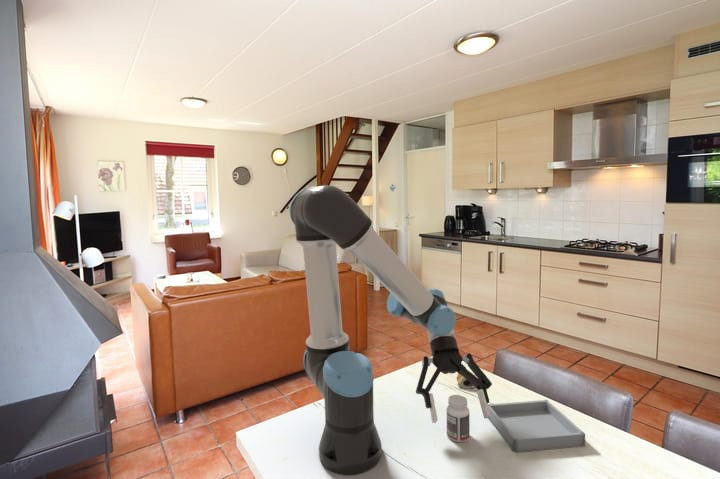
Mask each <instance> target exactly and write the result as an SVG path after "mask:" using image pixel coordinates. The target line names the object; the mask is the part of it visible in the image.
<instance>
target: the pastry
mask: <svg viewBox="0 0 720 479" xmlns="http://www.w3.org/2000/svg"><path fill="white" fill-rule="evenodd" d="M471 373H472V374H473V375H474V376H475V377H476V375H475V374H474V373H473V372H471ZM476 378H477V377H476ZM456 381H457V386H458V387H459V388H460V389H477V388H476V387H475V386H474V385H472V384H471V383H470V382H469V381H468V380H467V379H465V378H464V377H463V376H462V375H460V374H459V373H457V376H456Z"/></svg>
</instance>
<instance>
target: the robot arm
mask: <svg viewBox="0 0 720 479" xmlns="http://www.w3.org/2000/svg"><path fill="white" fill-rule="evenodd" d="M289 217H290V220H291V222H292V223H293V225H294V226H295V227H294V228H295V237H296V242H297V243H298V244H299V245H300V246H301V247H302V250H303V251H302V252H303V262H304V264H303V265H304V272H305V273H304V275H305V285H306V295H307V307H308V318H309V320H308V321H309V328H310V329H309V330H310V331H309V332H310V334H309V336H308V337H307V338H306V340H305V351H304V353H303V359H302V360H303V366H304V367H303V368H304V370H305V373H306V375H307V377H308V378H309V379H310V380H311V382H312V383H313V384H314V386H315V387H316V389H318V391H319V393H320V394H321V395H322V397H323V400H324V418H325V424H324V428H323V431H322V435H321V437H320V440H319V443H318V457H319V460H320V463H321V464H322V465H323V466H324V467H325V468H326V469H327V470H328V471H331V472H333V473H335V474H340V475H356V474H357V475H358V474H362V473H365V472H367V471H369V470H371V469H373V468H374V467H375V466H377V465H378V463H379V462H380V460H381V457H382V454H383V452H382V450H383V449H382V441H381V438H380V435H379V432H378V430H377V427H376V424H375V420H374V417H375V416H374V380H375V379H374V372H373V366H372V363H371V361H370V360H369V358H368V357H367V356H365V355H364V354H362V353H359V352H355V351H351V350H350V347H351V346H350V339H349V338H350V337H349V335H348V334H347V333H346V332H344V331H343V323H342V322H343V320H342V319H343V318H342V307H341V294H340V292H341V291H340V281H339V268H338V255H337V254H338V253H337V245H338V247H339V248H340V249H341V250H344V251H345V250H348V251H349V252H350V253H351V254H353V256H354V257H356V259H357V260H358V261H359V262H360V263H361V264H362V265H363V266H364V267H365V268H366V269H367V270H368V271H369V273H371V274H372V275H373V276H374V277H375V278H376V279H377V280H378V281H379V282H380V284H381V285H382V286H383V287H384V288H385V289H386V290H387V291H388V292H389V295H388V297H387V301H386V302H387V303H386V309H387V311H388V313H389V314H390V315H391V316H394V317H398V318H404V319H406V320H408V321H410V322H412V323H413V324H416V325H417V326H420V327H421V328H422V329H425V330H426V332H427V337H428V341H429V346H430V351H431V355H432V357H428V356H427V355H426V356H423V358H422V361H421V362H422V367H421V368H422V369H421V372H420V374H419V379H418V381H417V385H416V389H415V393H416V394H417V395H422V398H423V400H424V405H425V408H426V409H429V411H430V417H431V421H432V424H436V423H437V422H438V415H437V409H436V406H435V400H434V394H433V392H430V391H431V389H432V387H433V386H434V385H435V382H436V380H438V379H437V378H438V377H439V375H440V373H441V374H443V375H447V374H456V373H457V374H458V373H459V374H460V375H462V376H463V377H464V378H465V379H467V380H468V381H469V382H470V383H471V384H472V385H474V386H475V387H476V388H475V389H477V390H478V391H477V392H476V395H477V397H478V401H479V404H480V408H481V412H482V414H483V415H482V416H483V418H484V420H485V419H488V417H489V416H490V412H489V409H488V405H487V404H488V403H490V398H489V395H488V392H487V390H488V389H489V388H491V386H492V385H493V383H492V381H491V380H490V379H489V378H488V376H487V375H486V374H485V373H484V371H483V370H482V369H481V368H480V366H479V365H478V364H477V363H476V362H475V359H474V358H473V357H474V356H472V354H471V353H469V352H468V353H466V355H461V353H460V351H459V350H460V349H459V346H458V343H457V339H456V335H455V330H454V328H455V326H456V323H457V322H456V320H457V317H456V313H455V311H454V310H453V309H452V308H451V307H448V303H447V300H446V298H445V295H444V292H442V291H441V290H439V289H437V288H434V289H428V288H427V287H426V286H425V285H424V284H423V283H422V282H421V280H420V279H419V278H418V277H417V276H416V275H415V274H414V272H413V271H412V270H411V269H410V268H409V267H408V266H407V265H406V264H405V263H404V262H403V261H402V259H401V258H400V257H399V255H398V254H396V253H395V251H394V250H393V249H392V248H391V247H390V245H388V243H386V241H385V240H384V239H383V238H382V237H381V236H380V235H379V234H378V232H377V231H376V230H374V228H373V221H372V219H371V218H370V217H369V216H368V214H366V213H365V212H364V210H363V209H362V208H361V207H360V206H359V205H358V204H357V202H356V201H355V200H353V198H351V196H350V195H349V194H348V193H346V192H345V191H344V190H342V189H341V188H339V187H337V186H333V185H329V184H326V185H320V186H309V187H306V188H303V189H301V190H300V191H298V192H297V193H296V194H295V195H294V197H293V199H292V200H291V202H290V205H289ZM462 362H464V364H466V365H467V367H468V368H469V369H470V370H471V371H469V370H468V369H467V368H466V366H465V365H464V364H463V363H462ZM431 364H433V366H434V367H435V368H436V369H435V371H434V373H433V374H432V377H431V378H430V380H429V381H428V383H427V385H426V386H425V388H423V386H424V384H425V379H426V377H427V373H428V369H429V367H430V366H431ZM472 373H473V374H472ZM474 375H475V376H476V377H475V376H474Z"/></svg>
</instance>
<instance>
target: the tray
mask: <svg viewBox="0 0 720 479" xmlns="http://www.w3.org/2000/svg"><path fill="white" fill-rule="evenodd" d="M487 405H488V409H489V412H490V416H489V417H488V418H487V419H488V420H489V421H490V423H491V424H492V426H493V427H494V428H495V429H496V431H497V432H498V433H499V435H500V436H501V437H502V438H503V440H504V441H505V443H506V444H507V445H508V447H510V449H511V450H512V451H513V453H514V454H516V453H525V452H537V451H547V450H548V451H549V450H559V449H569V448H577V447H578V448H580V447H586V433H585V432H584V431H583V430H581V429H580V428H579V427H578V425H576V424H575V423H574V422H572V420H570V418H568V417H567V416H566V415H565V414H563V413H562V412H561V410H559V409H558V408H557V407H556V406H554V405H553V404H552V403H551V402H550V401H549V400H548V399H542V400H541V399H540V400H531V401H530V400H529V401H515V402H514V401H513V402H503V403H501V402H500V403H490V404H487Z"/></svg>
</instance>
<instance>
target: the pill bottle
mask: <svg viewBox="0 0 720 479" xmlns="http://www.w3.org/2000/svg"><path fill="white" fill-rule="evenodd" d="M447 400H448V401H447V402H448V405H447V407H446V436H447V437H448V438H449V439H450V440H451V441H453V442H457V443H463V442H467V441H468V440H469V439H470V435H471V434H470V427H471V426H470V409H469V407H468V399H467V398H466V397H465V396H463V395H459V394H452V395H450V396H449V397H448V399H447Z"/></svg>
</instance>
